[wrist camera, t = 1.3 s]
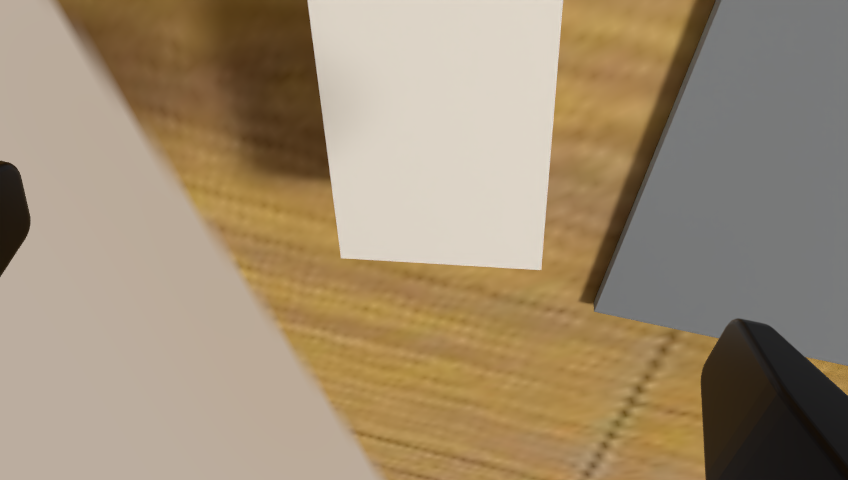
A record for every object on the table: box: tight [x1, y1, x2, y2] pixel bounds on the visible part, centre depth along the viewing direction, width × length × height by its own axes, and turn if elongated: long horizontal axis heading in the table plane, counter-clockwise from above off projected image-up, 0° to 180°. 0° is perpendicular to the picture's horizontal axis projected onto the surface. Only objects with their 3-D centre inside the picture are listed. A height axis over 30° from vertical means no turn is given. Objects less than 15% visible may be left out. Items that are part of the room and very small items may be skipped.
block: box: [307, 0, 563, 270], centre depth 15 cm, size 10×5×4 cm, turn 2°
